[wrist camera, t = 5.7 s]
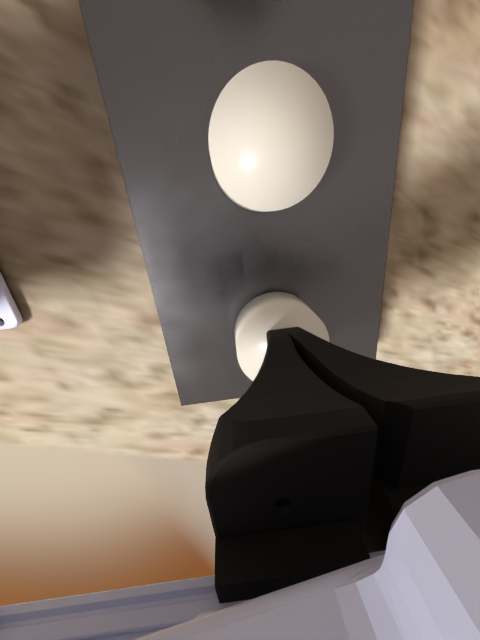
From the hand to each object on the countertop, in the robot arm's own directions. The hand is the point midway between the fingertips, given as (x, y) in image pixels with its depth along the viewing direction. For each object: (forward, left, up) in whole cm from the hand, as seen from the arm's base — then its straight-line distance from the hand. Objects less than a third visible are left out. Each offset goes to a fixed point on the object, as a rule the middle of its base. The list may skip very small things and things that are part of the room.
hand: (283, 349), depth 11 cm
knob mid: (0, +8, -5) cm, 9 cm away
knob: (0, 0, -5) cm, 5 cm away
